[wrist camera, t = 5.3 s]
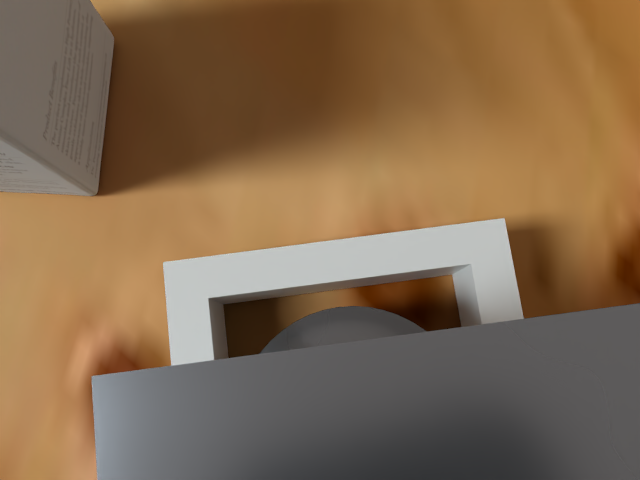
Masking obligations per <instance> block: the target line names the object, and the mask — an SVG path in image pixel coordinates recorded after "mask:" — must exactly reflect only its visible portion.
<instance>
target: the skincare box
mask: <svg viewBox="0 0 640 480" xmlns="http://www.w3.org/2000/svg"><path fill="white" fill-rule="evenodd" d="M113 49H114V37H113V35H112V33H111V31H110V30H109V28H108V27H107V26H106V24H105V23H104V21H103V19H102V18H101V16H100V15H99V13H98V12H97V11H96V9H95V7H94V6H93V4H92V3H91V1H90V0H0V191H5V192H21V193H47V194H67V195H82V196H94V195H96V194H97V192H98V186H99V176H100V166H101V157H102V148H103V139H104V130H105V122H106V113H107V104H108V94H109V85H110V76H111V67H112V58H113Z"/></svg>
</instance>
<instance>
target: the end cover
mask: <svg viewBox="0 0 640 480" xmlns="http://www.w3.org/2000/svg"><path fill="white" fill-rule="evenodd" d="M92 391H93V409H94V427H95V445H96V463H97V480H640V303H638V304H631V305H623V306H616V307H608V308H601V309H593V310H586V311H578V312H571V313H563V314H556V315H548V316H541V317H533V318H526V319H518V320H511V321H503V322H496V323H488V324H481V325H473V326H466V327H458V328H451V329H443V330H436V331H428V332H426V331H425V330H424V329H422V328H421V327H419V326H418V325H416V324H415V323H413V322H411V321H409V320H407V319H405V318H403V317H401V316H399V315H397V314H394V313H391V312H388V311H385V310H380V309H375V308H370V307H359V306H348V307H337V308H332V309H327V310H322V311H319V312H316V313H314V314H311V315H308V316H306V317H304V318H302V319H300V320H298V321H296V322H294V323H293V324H291V325H290V326H288V327H287V328H285V329H284V330H282V331H281V332H280V333H279V334H278V335H277V336H276V337H274V338H273V339H272V340H271V341H270V342H269V343H268V344H267V346H266V347H265V348H264V349H263V350H262V351H261V352H260V354H256V355H248V356H241V357H233V358H226V359H218V360H211V361H203V362H196V363H188V364H181V365H173V366H166V367H158V368H151V369H143V370H136V371H128V372H121V373H113V374H106V375H98V376H92Z"/></svg>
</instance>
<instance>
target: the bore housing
mask: <svg viewBox="0 0 640 480" xmlns="http://www.w3.org/2000/svg"><path fill="white" fill-rule="evenodd" d="M163 268H164V281H165V293H166V305H167V318H168V330H169V342H170V354H171V366H173V365H181V364H188V363H196V362H203V361H211V360H218V359H226V358H229V357H228V347H227V337H226V327H225V317H224V307H223V304H231V303H238V302H246V301H254V300H261V299H269V298H277V297H284V296H292V295H299V294H307V293H315V292H322V291H330V290H338V289H345V288H353V287H361V286H368V285H376V284H384V283H391V282H399V281H407V280H414V279H422V278H430V277H437V276H445V275H452V276H453V282H454V287H455V293H456V299H457V305H458V311H459V316H460V322H461V327H466V326H473V325H481V324H488V323H496V322H503V321H511V320H518V319H524V317H523V312H522V307H521V302H520V296H519V291H518V286H517V281H516V276H515V270H514V265H513V260H512V255H511V250H510V244H509V239H508V234H507V229H506V224H505V219H504V218H502V219H494V220H486V221H478V222H471V223H463V224H455V225H447V226H440V227H432V228H424V229H416V230H409V231H401V232H393V233H386V234H378V235H370V236H362V237H355V238H347V239H339V240H331V241H324V242H316V243H308V244H301V245H293V246H285V247H277V248H270V249H262V250H254V251H246V252H239V253H231V254H223V255H216V256H208V257H200V258H192V259H185V260H177V261H169V262H163Z"/></svg>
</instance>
